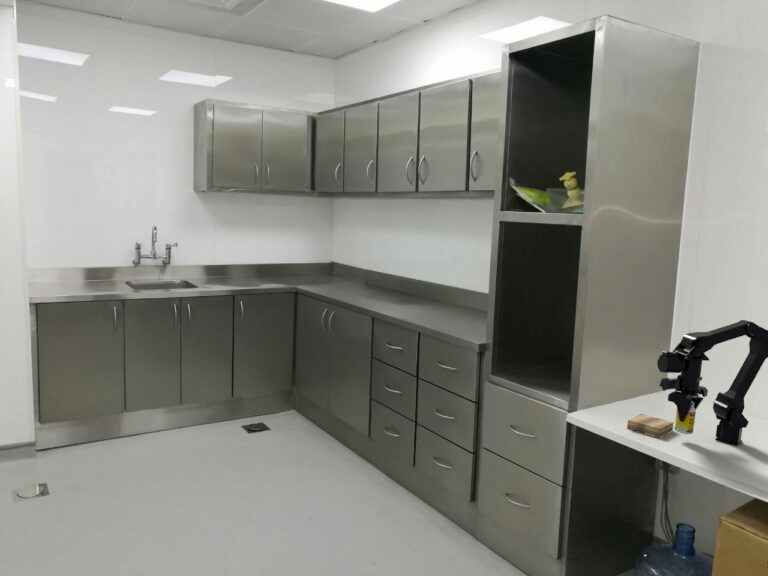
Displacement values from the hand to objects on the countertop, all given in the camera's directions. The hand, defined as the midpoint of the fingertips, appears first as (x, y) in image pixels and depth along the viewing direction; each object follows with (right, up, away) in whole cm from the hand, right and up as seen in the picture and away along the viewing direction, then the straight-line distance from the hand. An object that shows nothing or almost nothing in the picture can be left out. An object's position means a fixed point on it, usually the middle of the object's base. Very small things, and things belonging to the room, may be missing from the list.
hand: (685, 419), depth 205 cm
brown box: (-7, -6, +10) cm, 14 cm away
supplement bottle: (0, -4, +1) cm, 4 cm away
